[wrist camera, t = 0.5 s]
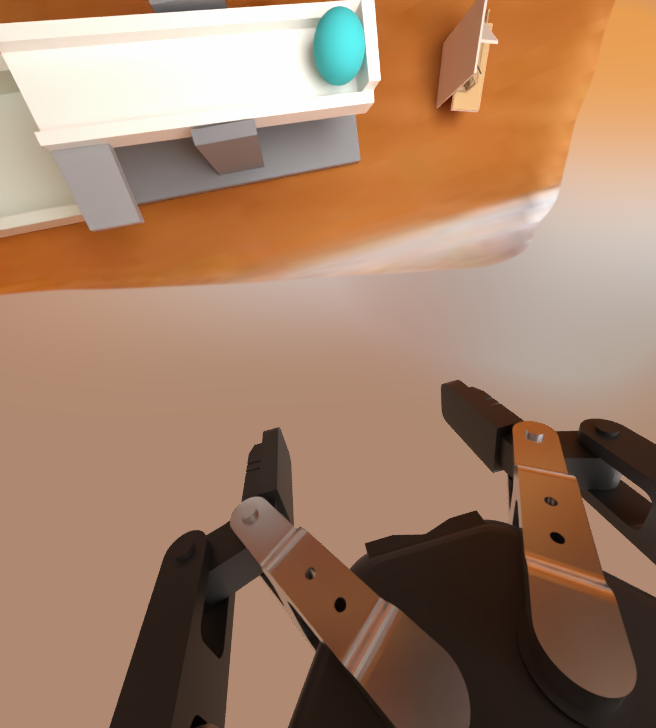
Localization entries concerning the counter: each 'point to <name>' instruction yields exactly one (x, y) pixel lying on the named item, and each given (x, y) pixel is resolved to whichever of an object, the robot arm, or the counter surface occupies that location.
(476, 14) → the architectural model
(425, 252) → the counter surface
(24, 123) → the tray
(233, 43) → the trough
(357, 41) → the ball
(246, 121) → the stand
